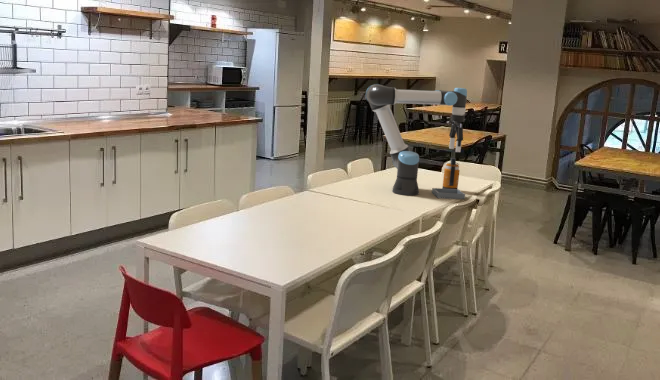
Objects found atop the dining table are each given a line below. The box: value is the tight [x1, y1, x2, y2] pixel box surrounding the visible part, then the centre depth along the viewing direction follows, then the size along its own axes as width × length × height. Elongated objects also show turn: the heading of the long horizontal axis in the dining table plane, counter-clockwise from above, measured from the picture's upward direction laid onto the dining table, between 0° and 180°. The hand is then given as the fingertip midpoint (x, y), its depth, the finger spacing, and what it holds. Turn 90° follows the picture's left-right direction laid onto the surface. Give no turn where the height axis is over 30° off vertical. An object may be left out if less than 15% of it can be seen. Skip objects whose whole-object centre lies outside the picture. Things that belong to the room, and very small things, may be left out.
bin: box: [431, 187, 466, 200], centre depth 355 cm, size 16×14×3 cm
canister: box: [441, 157, 460, 190], centre depth 371 cm, size 9×11×20 cm
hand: (454, 150), depth 368 cm, fingers open, 13 cm apart
